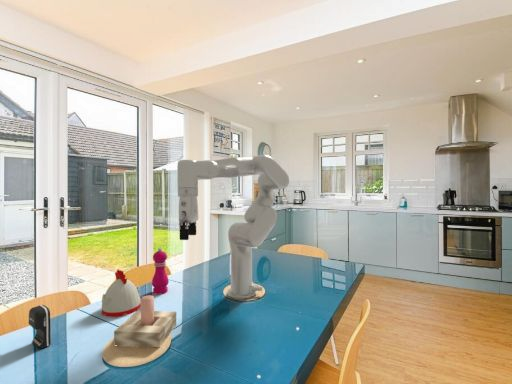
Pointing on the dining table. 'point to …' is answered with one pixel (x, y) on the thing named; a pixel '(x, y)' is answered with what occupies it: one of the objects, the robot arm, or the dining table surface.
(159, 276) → the pepper mill
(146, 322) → the peg
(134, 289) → the white dome
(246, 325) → the dining table surface
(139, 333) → the socket block
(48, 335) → the black coffee maker
